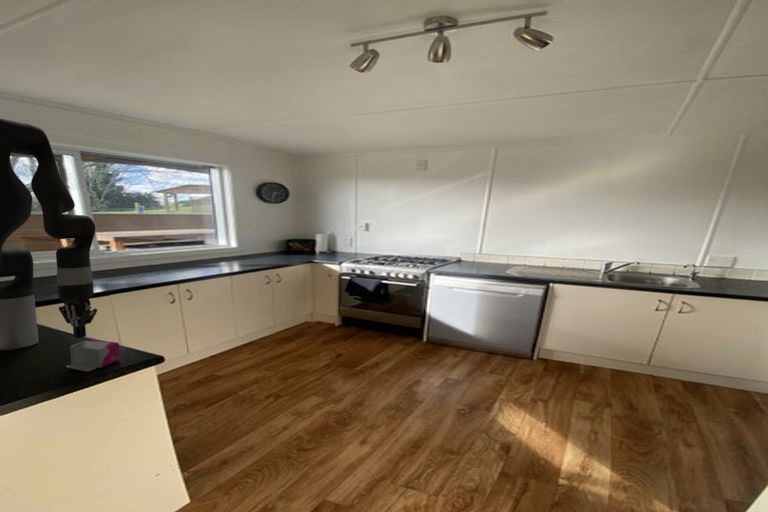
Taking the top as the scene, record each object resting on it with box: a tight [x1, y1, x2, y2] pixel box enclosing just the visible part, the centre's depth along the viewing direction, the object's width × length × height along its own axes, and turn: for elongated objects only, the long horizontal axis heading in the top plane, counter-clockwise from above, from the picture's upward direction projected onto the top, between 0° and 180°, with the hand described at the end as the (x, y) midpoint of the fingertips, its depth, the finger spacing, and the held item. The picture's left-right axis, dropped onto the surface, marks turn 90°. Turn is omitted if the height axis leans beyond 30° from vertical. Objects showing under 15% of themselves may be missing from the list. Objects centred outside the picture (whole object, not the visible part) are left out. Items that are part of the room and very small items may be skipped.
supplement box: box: [68, 339, 121, 368], centre depth 93 cm, size 6×6×12 cm
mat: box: [65, 364, 100, 373], centre depth 93 cm, size 9×8×1 cm
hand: (80, 337), depth 94 cm, fingers closed
